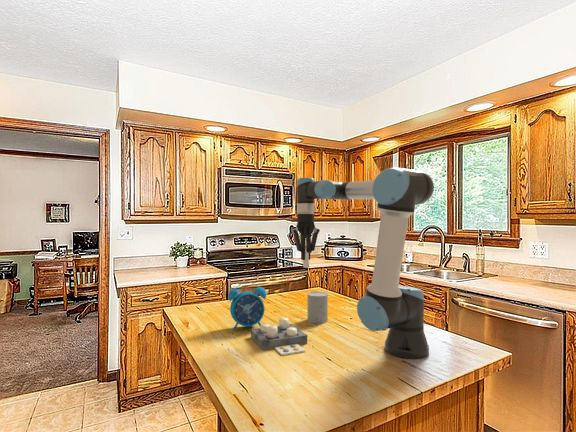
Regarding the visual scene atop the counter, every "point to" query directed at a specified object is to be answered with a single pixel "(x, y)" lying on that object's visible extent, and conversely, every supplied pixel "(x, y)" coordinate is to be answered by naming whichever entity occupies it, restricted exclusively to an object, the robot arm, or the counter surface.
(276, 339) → the button board
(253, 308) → the alarm clock
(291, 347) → the card
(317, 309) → the speckled white tin can
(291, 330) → the button
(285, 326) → the button
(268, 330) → the button
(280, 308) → the counter surface
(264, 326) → the button
